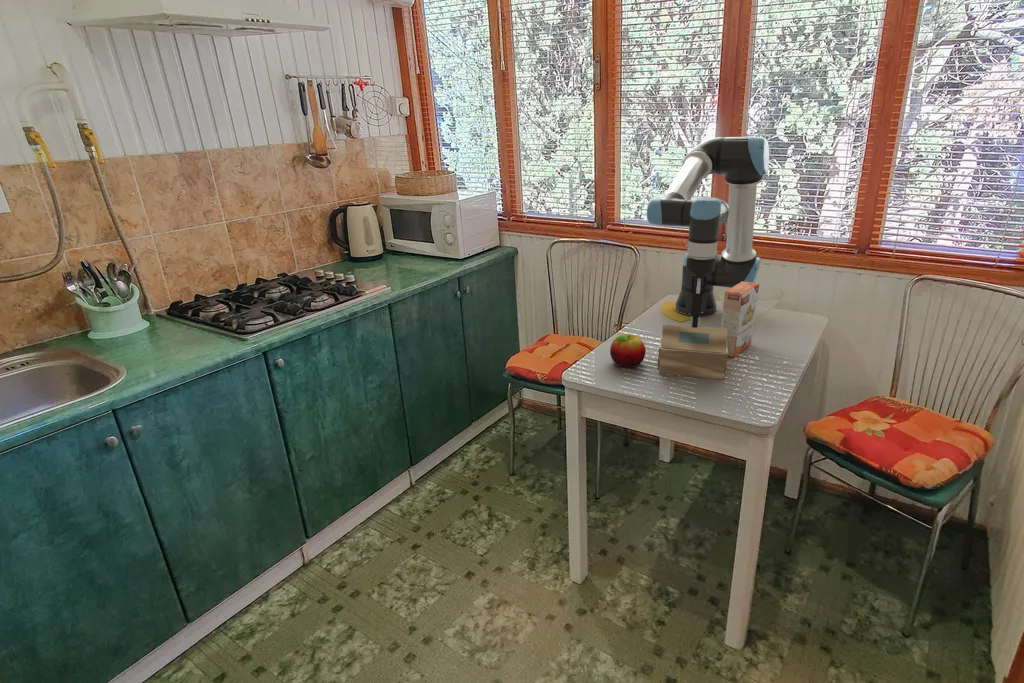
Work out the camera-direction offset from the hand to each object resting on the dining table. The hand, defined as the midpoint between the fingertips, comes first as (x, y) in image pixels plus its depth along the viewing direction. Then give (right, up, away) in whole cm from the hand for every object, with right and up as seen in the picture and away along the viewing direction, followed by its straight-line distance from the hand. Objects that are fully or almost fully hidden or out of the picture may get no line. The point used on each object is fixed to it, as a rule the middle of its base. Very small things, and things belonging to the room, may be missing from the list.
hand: (693, 336), depth 163 cm
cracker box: (+20, -4, +20) cm, 28 cm away
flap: (0, 0, -1) cm, 1 cm away
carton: (+2, -9, +9) cm, 13 cm away
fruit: (-17, -9, +13) cm, 23 cm away
